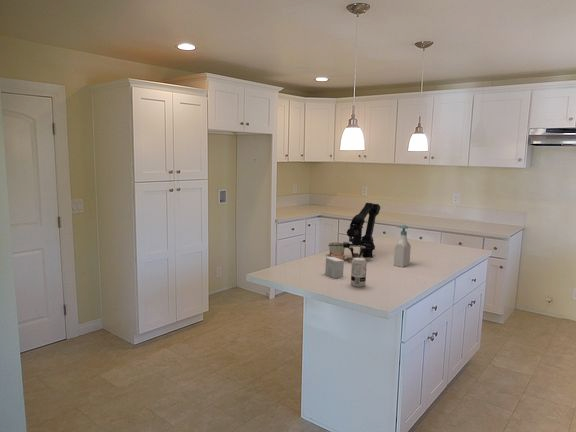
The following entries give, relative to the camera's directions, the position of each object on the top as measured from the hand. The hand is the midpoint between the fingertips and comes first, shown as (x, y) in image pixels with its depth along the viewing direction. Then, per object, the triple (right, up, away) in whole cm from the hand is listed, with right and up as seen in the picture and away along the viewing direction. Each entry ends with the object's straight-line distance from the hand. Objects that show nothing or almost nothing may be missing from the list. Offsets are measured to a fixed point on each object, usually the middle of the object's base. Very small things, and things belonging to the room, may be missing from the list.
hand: (356, 257), depth 289 cm
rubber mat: (0, -3, 0) cm, 3 cm away
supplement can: (-8, -10, -52) cm, 54 cm away
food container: (-12, -1, +14) cm, 18 cm away
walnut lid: (0, -2, 0) cm, 2 cm away
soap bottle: (+29, -5, -5) cm, 30 cm away
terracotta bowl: (-13, -3, 0) cm, 13 cm away
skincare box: (-19, -8, -35) cm, 40 cm away
